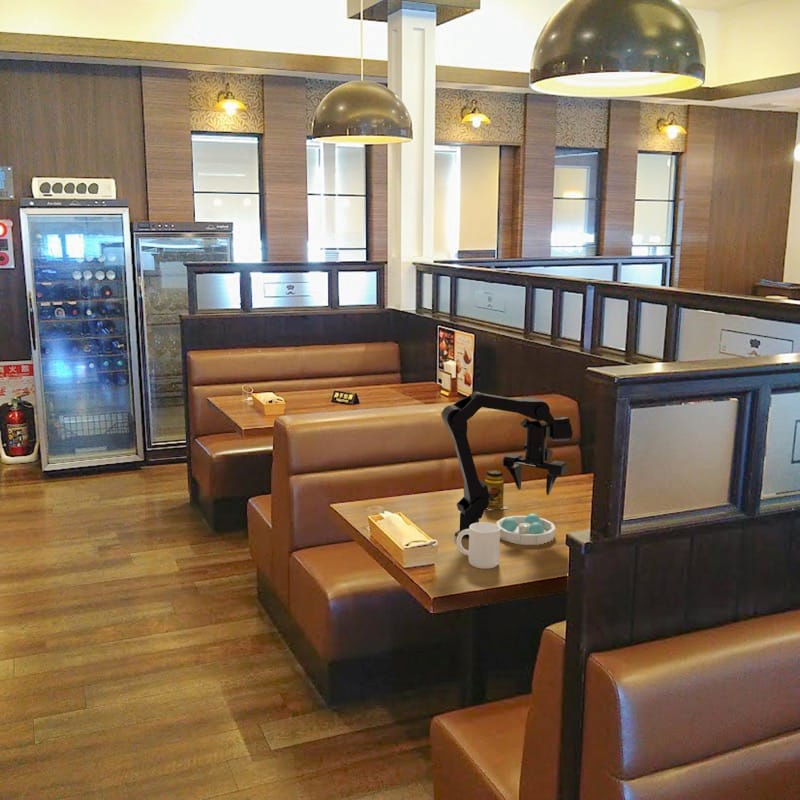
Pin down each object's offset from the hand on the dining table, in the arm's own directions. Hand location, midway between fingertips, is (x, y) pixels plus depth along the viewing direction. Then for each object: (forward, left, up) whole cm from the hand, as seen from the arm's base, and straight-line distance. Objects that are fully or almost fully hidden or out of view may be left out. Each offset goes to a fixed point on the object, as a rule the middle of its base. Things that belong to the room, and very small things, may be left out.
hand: (533, 492), depth 252 cm
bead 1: (-7, +4, -9) cm, 12 cm away
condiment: (+14, +20, -12) cm, 27 cm away
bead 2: (0, 0, -9) cm, 9 cm away
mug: (-32, +2, -12) cm, 34 cm away
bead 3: (-7, -4, -9) cm, 12 cm away
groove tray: (-5, 0, -12) cm, 13 cm away
